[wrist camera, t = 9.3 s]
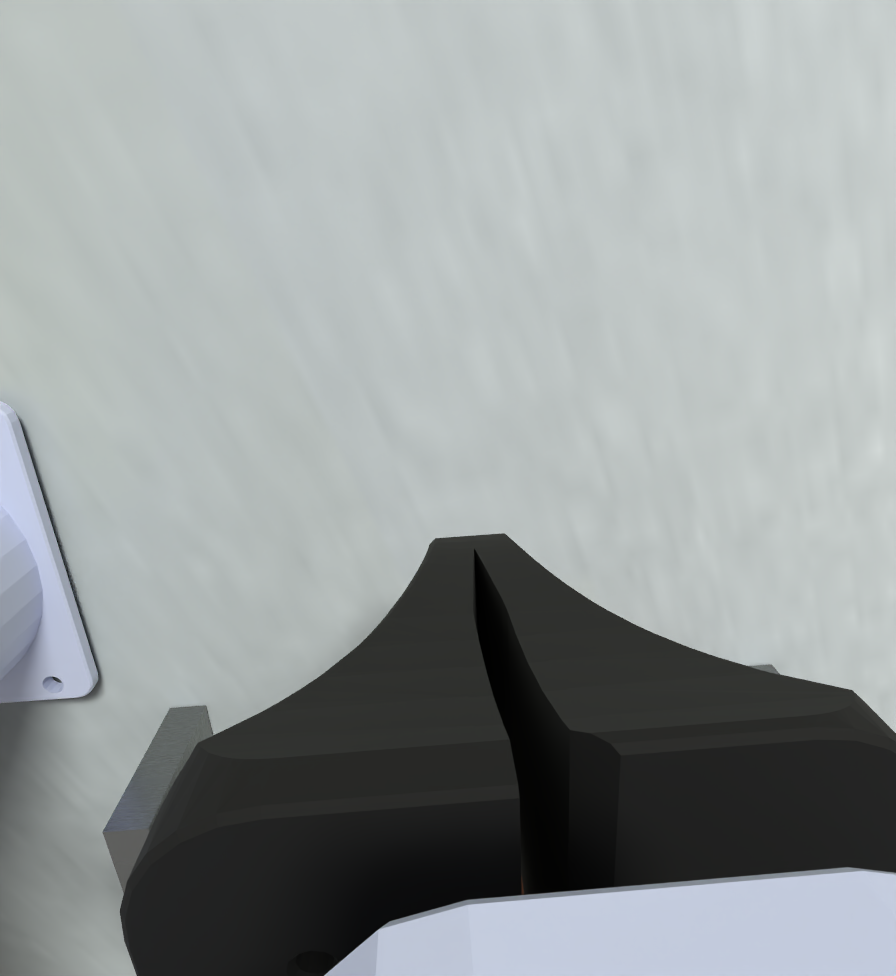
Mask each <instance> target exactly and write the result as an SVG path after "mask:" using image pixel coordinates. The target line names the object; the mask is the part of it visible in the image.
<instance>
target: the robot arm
mask: <svg viewBox="0 0 896 976" xmlns="http://www.w3.org/2000/svg"><path fill="white" fill-rule="evenodd" d="M52 677H57V678H58V679H60V680H61V681H62V683H58V682H57V681H55V680H54V679H53V678H52ZM97 681H98V672H97V669H96V666H95V663H94V659H93V656H92V653H91V650H90V647H89V643H88V640H87V637H86V634H85V630H84V627H83V624H82V621H81V618H80V614H79V611H78V608H77V605H76V602H75V598H74V595H73V592H72V589H71V585H70V582H69V579H68V576H67V573H66V569H65V566H64V563H63V560H62V557H61V553H60V550H59V547H58V544H57V541H56V537H55V534H54V531H53V528H52V524H51V521H50V518H49V515H48V512H47V508H46V505H45V502H44V499H43V496H42V492H41V489H40V486H39V483H38V479H37V476H36V473H35V470H34V467H33V463H32V460H31V457H30V454H29V451H28V447H27V444H26V441H25V438H24V434H23V431H22V428H21V425H20V422H19V419H18V417H17V415H16V413H15V411H14V410H13V409H12V408H11V407H10V406H9V405H8V404H6V403H3V402H1V401H0V703H11V702H24V701H38V700H52V699H66V698H79V697H83V696H86V695H87V694H89V693H90V692H91V691H92V689H93V688H94V687H95V685H96V683H97ZM521 876H522V883H523V890H524V895H522V883H521ZM120 916H121V922H122V928H123V935H124V941H125V944H126V946H127V949H128V952H129V955H130V958H131V960H132V963H133V966H134V969H135V972H136V974H137V976H896V733H895V732H894V731H893V730H892V729H891V728H890V727H889V726H888V725H887V724H886V723H885V722H884V721H883V720H882V719H881V718H880V717H879V716H878V715H877V714H876V713H875V712H874V711H873V710H872V709H871V708H870V707H869V706H868V705H867V704H866V703H865V702H864V701H863V700H862V699H861V698H860V697H859V696H858V695H857V694H856V693H854V692H853V691H852V690H849V689H844V688H839V687H835V686H830V685H826V684H821V683H816V682H812V681H807V680H802V679H798V678H793V677H789V676H784V675H779V674H775V673H770V672H766V671H763V670H759V669H755V668H752V667H749V666H745V665H742V664H738V663H735V662H732V661H728V660H725V659H721V658H718V657H715V656H712V655H709V654H706V653H703V652H700V651H697V650H695V649H692V648H689V647H686V646H684V645H681V644H679V643H676V642H674V641H672V640H669V639H667V638H664V637H662V636H659V635H657V634H654V633H652V632H650V631H647V630H645V629H643V628H641V627H639V626H637V625H634V624H633V623H631V622H629V621H627V620H625V619H623V618H621V617H619V616H617V615H615V614H613V613H612V612H610V611H608V610H606V609H604V608H602V607H601V606H599V605H597V604H596V603H594V602H592V601H591V600H589V599H588V598H586V597H585V596H583V595H582V594H580V593H579V592H577V591H575V590H574V589H572V588H571V587H569V586H568V585H567V584H565V583H564V582H562V581H561V580H560V579H558V578H557V577H556V576H554V575H553V574H552V573H550V572H549V571H548V570H547V569H545V568H544V567H543V566H542V565H540V564H539V563H538V562H537V561H535V560H534V559H533V558H532V557H531V556H530V555H528V554H527V553H526V552H525V551H524V550H523V549H522V548H520V547H519V546H518V545H517V544H516V543H515V542H514V541H513V540H511V539H510V538H509V537H508V536H507V535H506V534H490V535H476V536H462V537H449V538H435V539H434V540H433V541H432V543H431V544H430V545H429V548H428V551H427V553H426V556H425V558H424V560H423V562H422V564H421V565H420V567H419V569H418V571H417V573H416V574H415V576H414V577H413V579H412V581H411V582H410V584H409V585H408V587H407V589H406V590H405V592H404V593H403V594H402V596H401V597H400V598H399V600H398V601H397V602H396V604H395V605H394V606H393V608H392V609H391V610H390V611H389V613H388V614H387V615H386V617H385V618H384V619H383V620H382V621H381V623H380V624H379V625H378V626H377V627H376V628H375V629H374V630H373V631H372V633H371V634H370V635H369V636H368V637H367V638H366V639H365V640H364V641H363V642H362V643H361V644H360V645H359V646H357V647H356V648H355V649H354V650H353V651H351V652H350V653H349V654H348V655H346V656H345V657H344V658H343V659H341V660H340V661H339V662H338V663H336V664H335V665H334V666H333V667H331V668H330V669H329V670H328V671H326V672H325V673H324V674H322V675H321V676H320V677H318V678H317V679H315V680H314V681H312V682H311V683H309V684H308V685H306V686H305V687H303V688H302V689H300V690H299V691H297V692H295V693H294V694H292V695H290V696H289V697H287V698H285V699H284V700H282V701H280V702H279V703H277V704H275V705H273V706H272V707H270V708H268V709H266V710H264V711H263V712H261V713H259V714H257V715H255V716H253V717H251V718H249V719H247V720H244V721H242V722H240V723H238V724H236V725H234V726H232V727H230V728H228V729H226V730H224V731H222V732H220V733H218V734H216V735H214V736H212V737H209V738H207V739H205V740H202V741H200V742H198V743H197V745H196V746H195V748H194V750H193V752H192V753H191V755H190V757H189V759H188V760H187V762H186V764H185V765H184V767H183V768H182V770H181V772H180V773H179V775H178V776H177V778H176V780H175V781H174V783H173V785H172V787H171V789H170V791H169V793H168V794H167V796H166V798H165V800H164V802H163V804H162V806H161V808H160V810H159V812H158V814H157V816H156V819H155V821H154V823H153V825H152V827H151V830H150V832H149V834H148V836H147V838H146V841H145V843H144V845H143V847H142V849H141V852H140V854H139V856H138V858H137V860H136V863H135V865H134V867H133V869H132V871H131V874H130V876H129V878H128V880H127V883H126V888H125V892H124V896H123V900H122V904H121V908H120Z"/></svg>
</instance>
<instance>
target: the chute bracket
mask: <svg viewBox="0 0 896 976" xmlns="http://www.w3.org/2000/svg"><path fill="white" fill-rule="evenodd" d="M749 667H752V668H755V669H759V670H763V671H766V672H770V673H775V674H779V673H778V672H777V670H776V669H775V668H774V667H773V666H772V665H760V666H749ZM779 675H780V674H779ZM212 736H213V733H212V729H211V725H210V721H209V717H208V713H207V709H206V706H195V707H181V708H170V709H169V711H168V713H167V715H166V716H165V718H164V720H163V722H162V724H161V726H160V728H159V729H158V731H157V733H156V735H155V737H154V739H153V740H152V742H151V744H150V746H149V748H148V750H147V751H146V753H145V755H144V757H143V759H142V761H141V763H140V764H139V766H138V768H137V770H136V772H135V774H134V775H133V777H132V779H131V781H130V783H129V785H128V786H127V788H126V790H125V792H124V794H123V796H122V798H121V799H120V801H119V803H118V805H117V807H116V809H115V810H114V812H113V814H112V816H111V818H110V820H109V821H108V823H107V825H106V827H105V829H104V831H103V834H104V837H105V840H106V843H107V846H108V849H109V852H110V855H111V857H112V860H113V863H114V866H115V869H116V872H117V875H118V878H119V881H120V883H121V886H122V889H123V892H125V888H126V883H127V880H128V878H129V876H130V874H131V871H132V869H133V867H134V865H135V863H136V860H137V858H138V856H139V854H140V852H141V849H142V847H143V845H144V843H145V841H146V838H147V836H148V834H149V832H150V830H151V827H152V825H153V823H154V821H155V819H156V816H157V814H158V812H159V810H160V808H161V806H162V804H163V802H164V800H165V798H166V796H167V794H168V793H169V791H170V789H171V787H172V785H173V783H174V781H175V780H176V778H177V776H178V775H179V773H180V772H181V770H182V768H183V767H184V765H185V764H186V762H187V760H188V759H189V757H190V755H191V753H192V752H193V750H194V748H195V746H196V745H197V743H198V742H200V741H202V740H205V739H207V738H209V737H212Z"/></svg>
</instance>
